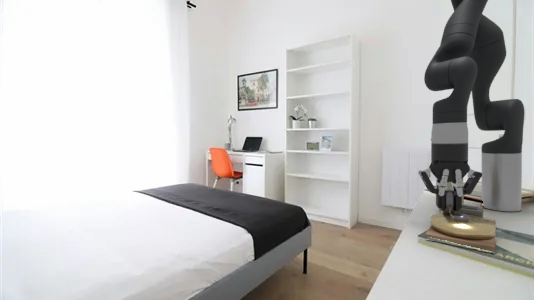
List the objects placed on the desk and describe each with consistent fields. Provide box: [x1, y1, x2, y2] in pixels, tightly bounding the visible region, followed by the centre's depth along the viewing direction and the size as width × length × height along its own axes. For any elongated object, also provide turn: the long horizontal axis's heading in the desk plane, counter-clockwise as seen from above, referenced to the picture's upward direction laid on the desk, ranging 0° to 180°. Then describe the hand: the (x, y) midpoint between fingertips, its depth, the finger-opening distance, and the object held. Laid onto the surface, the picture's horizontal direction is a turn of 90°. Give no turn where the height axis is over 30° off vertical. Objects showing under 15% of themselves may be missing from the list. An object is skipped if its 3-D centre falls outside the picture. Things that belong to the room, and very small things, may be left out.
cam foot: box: [430, 190, 497, 239], centre depth 60 cm, size 12×12×8 cm
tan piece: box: [425, 204, 497, 253], centre depth 63 cm, size 20×12×5 cm, turn 138°
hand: (448, 209), depth 65 cm, fingers closed on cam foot, 2 cm apart
